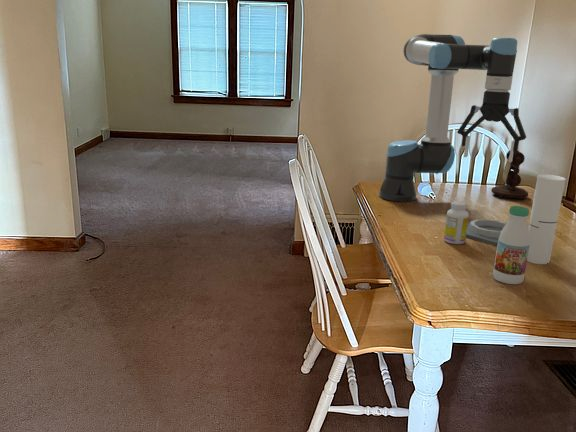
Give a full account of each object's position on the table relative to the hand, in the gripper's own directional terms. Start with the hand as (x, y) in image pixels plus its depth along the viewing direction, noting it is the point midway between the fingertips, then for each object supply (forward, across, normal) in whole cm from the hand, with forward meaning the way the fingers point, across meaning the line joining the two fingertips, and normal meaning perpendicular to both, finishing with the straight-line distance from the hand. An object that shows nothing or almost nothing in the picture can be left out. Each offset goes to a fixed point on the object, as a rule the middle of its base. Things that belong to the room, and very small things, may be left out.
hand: (487, 159), depth 168 cm
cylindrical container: (+26, +19, -13) cm, 35 cm away
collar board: (+26, +4, +5) cm, 27 cm away
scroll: (+26, +2, +63) cm, 68 cm away
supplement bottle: (+26, -5, -10) cm, 28 cm away
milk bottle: (+26, +14, -33) cm, 44 cm away
